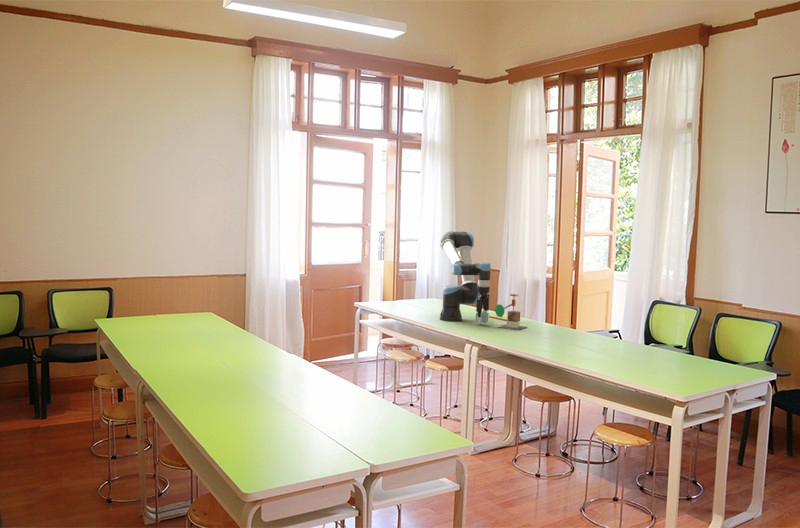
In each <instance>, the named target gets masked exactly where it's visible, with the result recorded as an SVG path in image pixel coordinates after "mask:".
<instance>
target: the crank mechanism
mask: <svg viewBox="0 0 800 528" xmlns="http://www.w3.org/2000/svg"><path fill="white" fill-rule="evenodd" d="M509 296H512V297H513V298H512V299H511V304H509V305H507V306H505V307H504V306H503V305H502V304H501V303H500V304H497V305H496V306H495V309H494V311H495V314H492V315H490V314H489V318H488V319H494V320H499V321H504V322H507V317H508V316H507V317H506V316H504V314H505V310H506V309H507V308H509V307H512V311H515V307H516V304H517V302H516V301H517V299H515V297H518V296H519V293H516V292H514V293H512V292H511V293H510V294H509Z"/></svg>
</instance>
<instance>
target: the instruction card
mask: <svg viewBox="0 0 800 528" xmlns="http://www.w3.org/2000/svg"><path fill="white" fill-rule="evenodd" d="M493 325H496V326H503V325H507V323H503V322H495V323H493Z"/></svg>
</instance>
